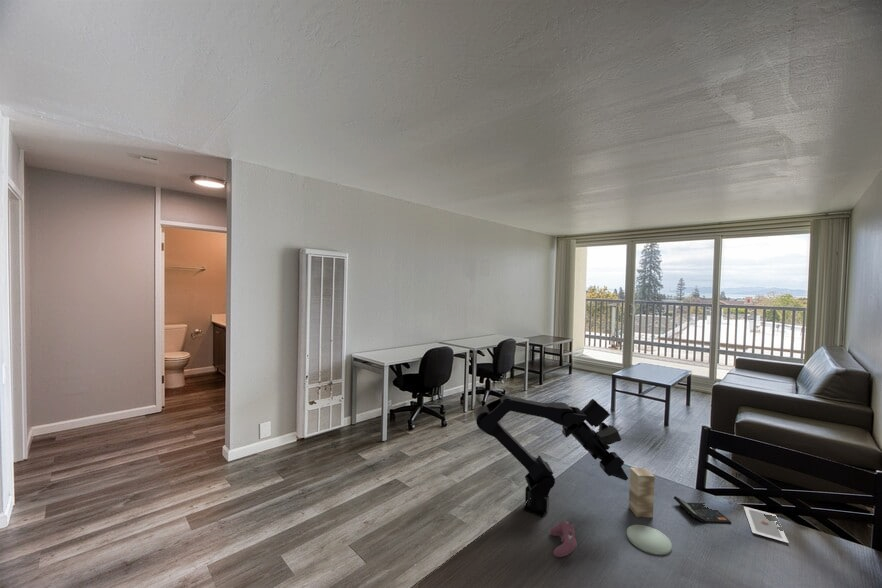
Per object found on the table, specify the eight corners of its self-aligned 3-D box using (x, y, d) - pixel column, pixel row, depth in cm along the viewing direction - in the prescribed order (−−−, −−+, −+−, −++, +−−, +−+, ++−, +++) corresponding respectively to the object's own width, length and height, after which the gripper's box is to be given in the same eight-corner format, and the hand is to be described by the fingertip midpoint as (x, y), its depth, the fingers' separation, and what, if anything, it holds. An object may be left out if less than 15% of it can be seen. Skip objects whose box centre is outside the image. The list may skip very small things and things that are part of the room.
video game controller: (568, 566, 94) (581, 544, 94) (552, 556, 95) (565, 534, 94) (563, 540, 104) (575, 520, 103) (548, 530, 105) (560, 511, 104)
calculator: (731, 524, 110) (731, 514, 110) (692, 523, 111) (692, 513, 111) (709, 505, 120) (709, 496, 120) (673, 504, 120) (673, 495, 120)
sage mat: (624, 544, 101) (624, 541, 101) (628, 522, 110) (629, 520, 110) (671, 561, 95) (671, 558, 95) (671, 537, 104) (672, 534, 104)
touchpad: (752, 536, 106) (752, 528, 106) (743, 509, 118) (743, 503, 118) (788, 546, 101) (789, 539, 101) (775, 518, 114) (775, 511, 114)
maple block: (636, 516, 113) (638, 475, 112) (628, 507, 118) (630, 467, 117) (653, 517, 113) (654, 476, 112) (644, 507, 118) (645, 467, 117)
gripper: (618, 430, 105) (655, 469, 105) (592, 408, 124) (624, 441, 124) (589, 456, 106) (627, 495, 106) (568, 430, 124) (600, 463, 125)
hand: (619, 471), depth 115 cm, fingers open, 9 cm apart
